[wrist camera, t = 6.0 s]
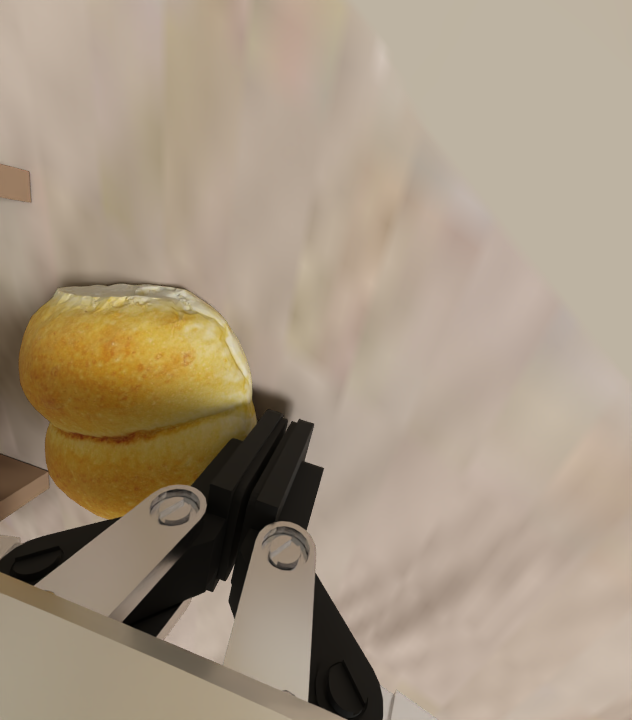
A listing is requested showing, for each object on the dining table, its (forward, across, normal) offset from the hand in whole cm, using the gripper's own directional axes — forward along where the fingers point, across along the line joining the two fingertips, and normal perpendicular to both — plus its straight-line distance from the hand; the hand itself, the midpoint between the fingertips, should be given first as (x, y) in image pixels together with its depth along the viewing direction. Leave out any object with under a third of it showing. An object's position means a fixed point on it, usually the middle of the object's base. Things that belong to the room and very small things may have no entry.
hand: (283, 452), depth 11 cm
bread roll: (+2, +6, 0) cm, 6 cm away
